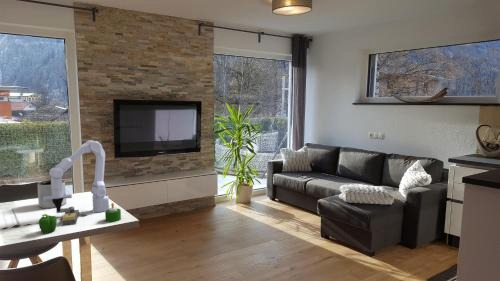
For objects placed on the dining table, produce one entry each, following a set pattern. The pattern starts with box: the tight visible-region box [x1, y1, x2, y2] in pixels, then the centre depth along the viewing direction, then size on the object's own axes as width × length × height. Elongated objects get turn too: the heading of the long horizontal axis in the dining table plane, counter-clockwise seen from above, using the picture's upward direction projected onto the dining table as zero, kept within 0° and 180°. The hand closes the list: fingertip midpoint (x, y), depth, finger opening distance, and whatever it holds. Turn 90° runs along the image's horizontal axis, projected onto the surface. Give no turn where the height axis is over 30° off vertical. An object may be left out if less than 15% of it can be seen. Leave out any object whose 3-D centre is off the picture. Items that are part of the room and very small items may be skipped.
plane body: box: [61, 209, 80, 226], centre depth 211 cm, size 20×7×2 cm, turn 21°
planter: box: [37, 179, 67, 209], centre depth 239 cm, size 16×16×16 cm
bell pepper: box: [38, 213, 58, 234], centre depth 191 cm, size 8×8×10 cm
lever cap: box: [62, 213, 76, 221], centre depth 205 cm, size 6×7×2 cm
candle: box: [104, 202, 122, 223], centre depth 209 cm, size 8×8×10 cm
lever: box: [55, 206, 75, 214], centre depth 216 cm, size 3×9×2 cm, turn 111°
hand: (58, 211), depth 212 cm, fingers closed
